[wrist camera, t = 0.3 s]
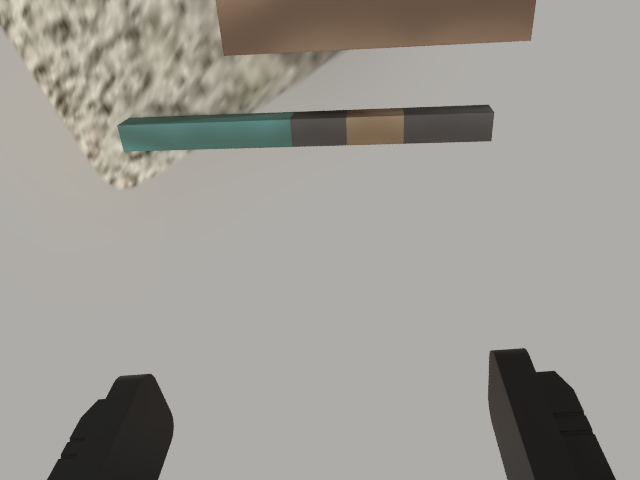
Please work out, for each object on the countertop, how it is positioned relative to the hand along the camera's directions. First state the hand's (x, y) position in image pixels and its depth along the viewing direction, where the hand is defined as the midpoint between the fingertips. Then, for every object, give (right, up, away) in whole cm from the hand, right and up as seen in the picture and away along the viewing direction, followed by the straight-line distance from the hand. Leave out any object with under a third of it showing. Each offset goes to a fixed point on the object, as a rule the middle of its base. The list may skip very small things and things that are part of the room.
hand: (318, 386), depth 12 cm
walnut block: (+3, +21, +21) cm, 30 cm away
